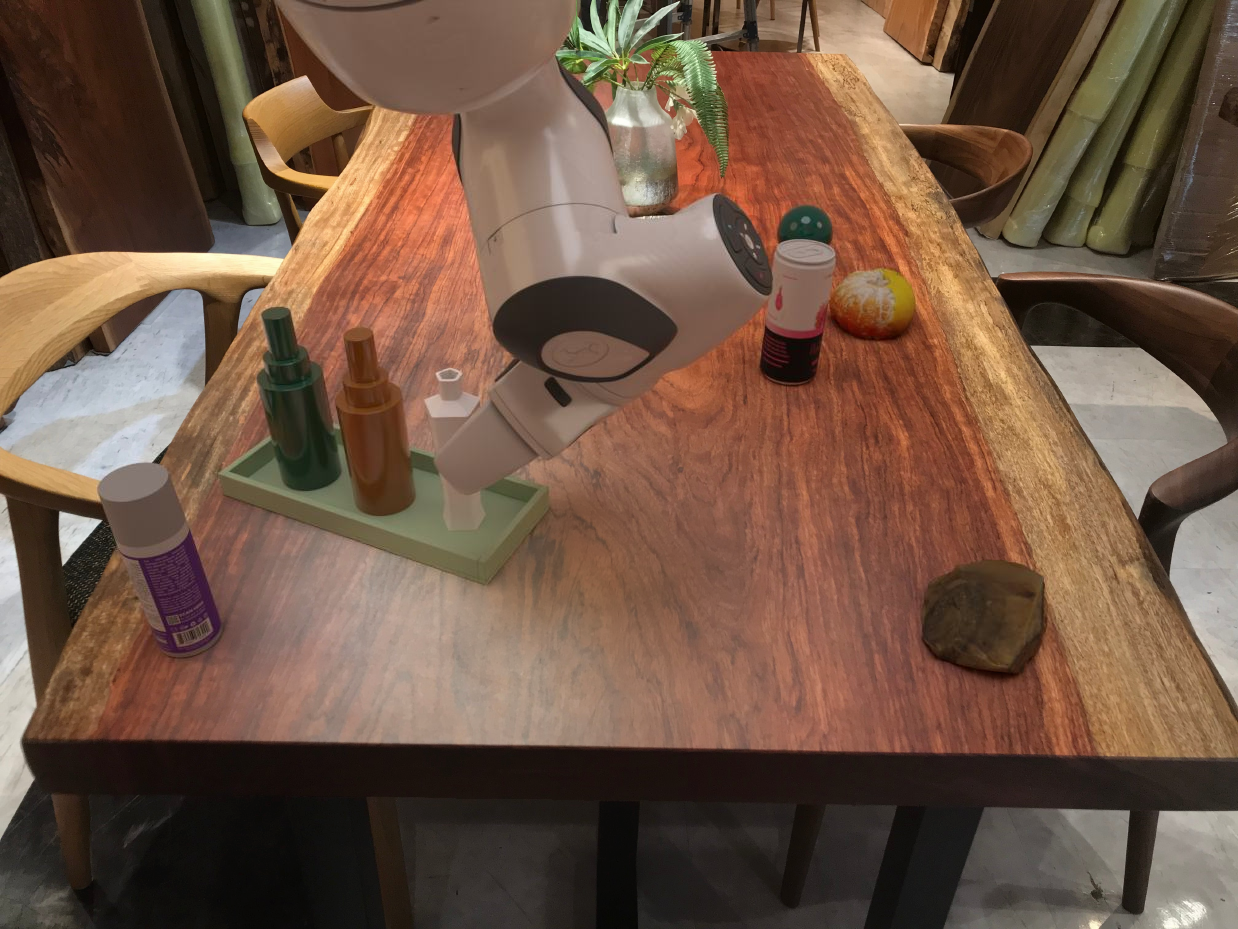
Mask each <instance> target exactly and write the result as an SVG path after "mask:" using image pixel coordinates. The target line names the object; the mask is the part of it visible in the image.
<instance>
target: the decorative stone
mask: <svg viewBox="0 0 1238 929" xmlns="http://www.w3.org/2000/svg"><path fill="white" fill-rule="evenodd" d="M1044 580H1045V577H1044V576H1043V575H1042V574H1040V573H1039V572H1036V570H1033V569H1032V568H1030V567H1029V566H1027V565H1024V564H1022V563H1019V562H1015V561H1009V560H1005V559H997V560H995V559H985V560H979V561H973V562H970V563H965V564H957V565H955V567H954V568H953V569H952V570H951V571H949V572H947V573H945V574H942V575H939V576H937V577H935V578H934V579H932V580H931V581H929V583H928V584H927V589H926V591H925V593H924V595H923V607H922V610H921V614H920V617H921V625H922V634H921V637H922V639H923V641H924V642H925V643H926V644H927V645H928V646H929V647H930V650H931V651H932V652H933V654H935V655H936V656H937V657H938V658H939V659H940V660H942V661H947V662H951V663H953V664H955V665H958V666H961V667H968V668H972V669H977V670H983V671H990V672H998V673H1009V674H1019V673H1021V672H1023V671H1024V669H1025V667H1026V665H1027V663H1028V661H1029V660H1030V659H1031V658H1032V657H1035V655H1036V654H1037V653H1038V652H1039V650H1040V648H1041V645H1042V640H1043V636H1044V634H1045V633H1046V631H1047V627H1048V612H1049V606H1048V603H1047V601H1046V598H1045V589H1046V583H1045V581H1044Z"/></svg>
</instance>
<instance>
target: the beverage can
mask: <svg viewBox="0 0 1238 929" xmlns="http://www.w3.org/2000/svg"><path fill="white" fill-rule="evenodd" d="M836 262H837V258H836V250H835V249H834V248H832V246H831V245H830V246H828V245H826V244H824V243H821V242H818V241H813V240H805V239H795V240H788V241H784V242H782V243H780V244H777V245H776V250H775V251H774V253H773V260H772V268H771V271H772V276H773V281H772V282H773V284H772V288H773V289H772V294H771V296H770V298H769V300H768V301H767V307H766V315H765V323H764V328H763V329H764V331H763V337H762V345H761V352H760V361H759V370H760V372H761V373H762V374H763V375H764V376H765V377H766V378H767V379H768V380H770V381H772V382H774V383H778V384H781V385H787V386H796V385H803V384H806V383H807V382H809V381H811V380H813V379H814V378H815V377H816V375H817V371H818V365H819V361H820V354H821V348H822V342H823V338H824V337H823V336H824V331H825V325H826V319H827V315H828V314H827V313H828V308H829V304H830V303H829V300H830V298H831V291H832V284H833V281H834V280H833V279H834V273H835V267H836Z"/></svg>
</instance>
